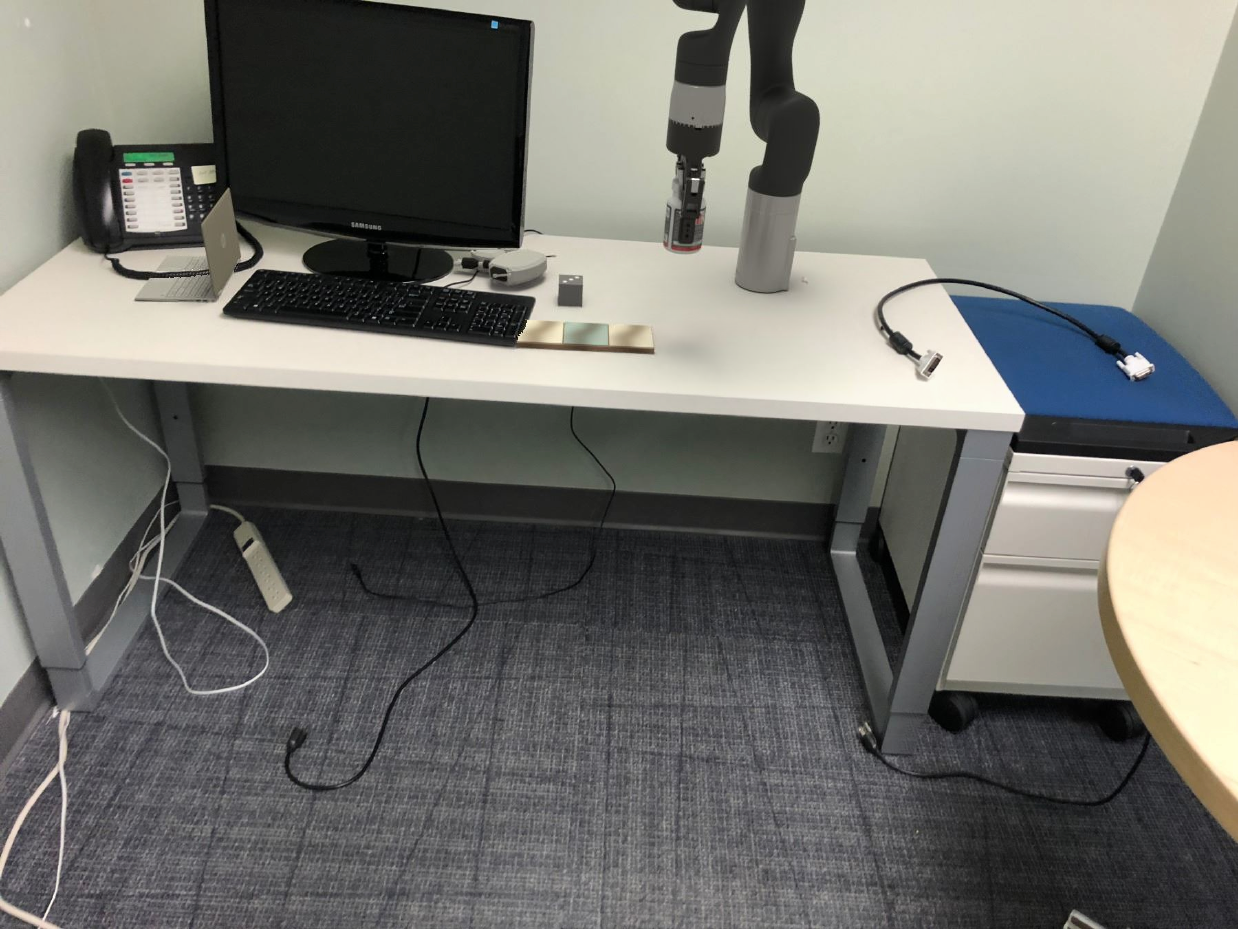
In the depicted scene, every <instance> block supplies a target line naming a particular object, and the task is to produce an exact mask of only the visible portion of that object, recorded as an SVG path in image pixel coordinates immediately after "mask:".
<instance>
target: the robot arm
mask: <svg viewBox="0 0 1238 929" xmlns="http://www.w3.org/2000/svg"><path fill="white" fill-rule="evenodd" d="M672 2H673V3H674V4H675V5H676V7H678V8H680V9H682V10H686V11H693V12H701V13H709V14H717V16H718V17H717V20H716V22H715V24H714V25H713V26H712V27H711V28H708V29H699V30H690V31H687V32H684V33H683V34H681V35H680V36H679V38H678V41H677V46H676V52H675V53H676V57H675V63H674V64H675V66H674V74H673V75H674V76H673V78H674V79H673V84H672V88H671V93H670V100H669V108H668V118H667V119H668V120H667V122H668V123H667V131H666V140H665V147H666V150H668V151H669V152H670V153H671V154H673V155H676V158H677V160H676V161H675V167H674V171H675V175H674V178H677V180H678V194H677V199H678V201H680V212H679V215H680V222H679V231H678V242H679V243H680V244H692V243H693V240H694V232H695V223H696V219H699V217H700V215H701V213H700V210H701V203H702V197H704V196H703V195H704V192H703V189H704V185H705V186H706V173H707V171H706V170H707V169H706V168H704V167H705V164H704V163H705V162H703V159H706V158H712V157H714V156H716V155H717V154H719V153H720V149H721V142H722V134H723V126H724V119H725V118H724V117H725V110H726V104H727V102H726V101H727V95H726V94H727V91H726V88H727V80H728V71H729V62H730V56H731V49H732V47H733V42H734V39H735V35H736V32H737V28H738V27H739V26H738V25H739V24H740V21H741V18H742V15H743V13H744V11H745V8H746V17H747V30H748V45H749V55H750V58H749V59H750V60H749V61H750V73H749V75H750V77H749V79H750V80H749V107H748V108H749V109H748V110H749V122H750V126H751V129H752V131H753V133H754V134H755V135H756V136H757V137H758V139H759V140H761V141H762V142H764V143H766V145H765V151H764V154H763V155H764V156H763V160H762V162H761V163H762V164H760V165H756V166H754V167H753V168H752V169H751V170H750V172H749V176H748V183H747V190H746V197H745V205H744V211H743V218H742V226H741V232H740V240H739V247H738V254H737V262H736V267H735V274H734V275H735V276H734V282H735V283H736V284H737V285H738V286H740V287H741V288H744V289H745V290H749V291H752V292H757V293H776V292H780V291H789V285H790V279H791V275H792V268H793V263H794V257H795V252H796V247H797V237H796V235H795V232H796V227H797V222H798V215H799V211H800V210H799V209H800V204H801V197H802V192H803V187H804V183H805V182H806V180H807V179H808V177H809V174H810V172H811V169H812V166H813V165H812V164H813V160H814V156H815V152H816V147H817V143H818V138H819V132H820V127H821V126H820V125H821V114H820V108H819V107H818V104H817V103H816V102H815V100H813V98H811V97H810V96H808V95H806V94H804V93H802V92H800V91H798V90H796V87H795V79H794V68H793V67H794V66H793V50H794V49H793V48H794V47H793V46H794V42H795V37H796V35H797V32H798V29H799V26H800V23H801V20H802V18H803V13H804V10H805V7H806V6H805V5H806V0H672ZM682 186H683V190H684V194H683V193H682ZM689 203H691V204H694V210H692V209H687V204H689Z"/></svg>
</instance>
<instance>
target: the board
mask: <svg viewBox="0 0 1238 929" xmlns="http://www.w3.org/2000/svg"><path fill="white" fill-rule="evenodd" d="M526 320H527V323H526V327H525V329H524V330H523V333H522V332H521V334H519V335H520V336H518V335H517V337H518V340H517V339H516V349H517V348H519V349H540V350H562V351H563V350H564V351H587V352H604V353H605V352H606V353H630V354H649V355H650V354H651V355H652V354H653V355H654V354H655V343H654V342H655V341H654V335H653V334H654V333H653V327H652V325H641V324H624V323H622V324H620V323H617V324H616V323H603V322H602V323H601V322H596V323H595V322H576V321H575V322H574V321H557V320H555V321H553V320H536V319H535V320H533V319H526Z"/></svg>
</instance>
